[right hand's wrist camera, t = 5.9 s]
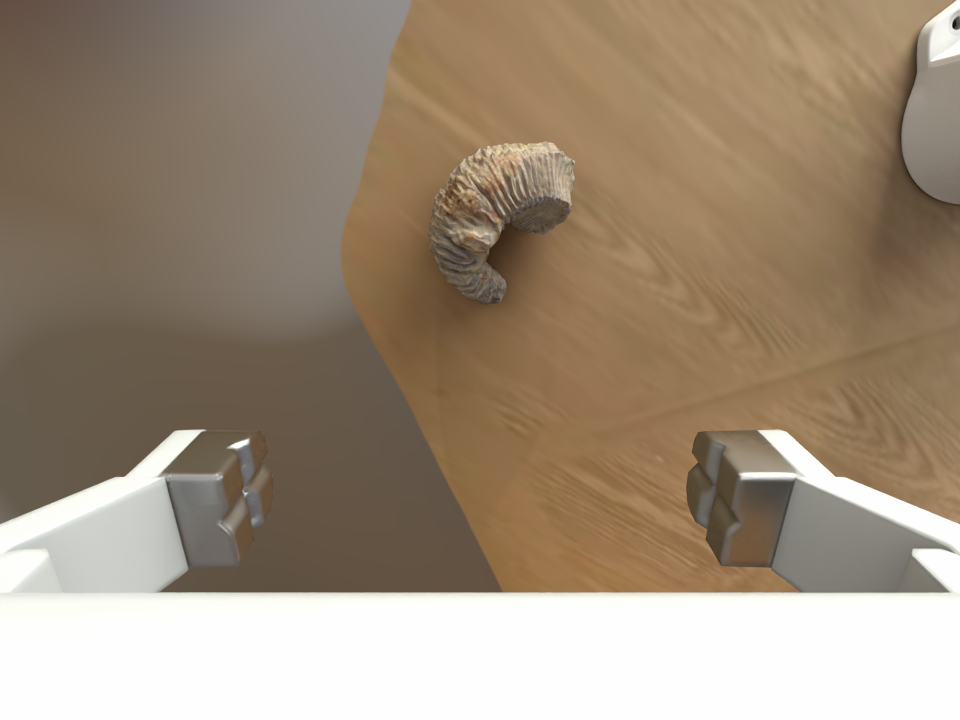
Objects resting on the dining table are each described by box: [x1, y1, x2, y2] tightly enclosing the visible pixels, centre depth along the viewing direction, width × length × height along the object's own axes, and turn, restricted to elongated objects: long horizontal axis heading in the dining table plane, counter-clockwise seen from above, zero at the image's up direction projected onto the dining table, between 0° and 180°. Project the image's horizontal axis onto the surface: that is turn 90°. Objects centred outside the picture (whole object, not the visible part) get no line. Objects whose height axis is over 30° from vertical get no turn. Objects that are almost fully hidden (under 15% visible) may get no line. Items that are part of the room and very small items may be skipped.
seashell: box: [428, 142, 575, 304], centre depth 42 cm, size 14×10×10 cm
